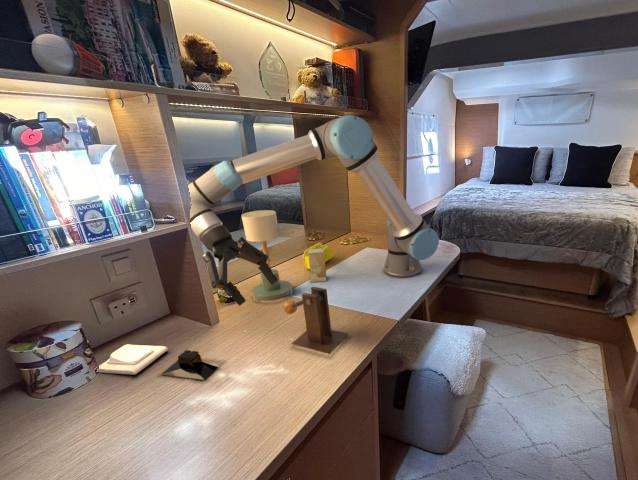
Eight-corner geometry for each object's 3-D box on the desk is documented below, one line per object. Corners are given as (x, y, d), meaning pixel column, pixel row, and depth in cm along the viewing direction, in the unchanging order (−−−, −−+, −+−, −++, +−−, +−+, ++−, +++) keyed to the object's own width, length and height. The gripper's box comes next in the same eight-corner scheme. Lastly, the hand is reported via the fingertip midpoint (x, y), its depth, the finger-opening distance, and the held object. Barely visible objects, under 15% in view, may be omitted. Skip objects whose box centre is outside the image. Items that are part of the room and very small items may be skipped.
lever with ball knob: (284, 317, 94) (277, 306, 93) (293, 311, 97) (286, 300, 96) (318, 305, 86) (311, 292, 86) (326, 299, 89) (319, 286, 89)
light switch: (126, 337, 95) (164, 338, 92) (132, 349, 96) (169, 351, 93) (88, 360, 85) (129, 363, 82) (95, 374, 86) (136, 377, 83)
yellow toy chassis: (322, 257, 160) (320, 240, 157) (333, 259, 158) (331, 241, 155) (304, 270, 146) (301, 251, 143) (315, 271, 144) (313, 252, 141)
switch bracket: (292, 348, 92) (283, 295, 86) (313, 329, 100) (306, 281, 94) (329, 357, 87) (323, 303, 81) (348, 338, 96) (344, 287, 89)
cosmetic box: (311, 282, 133) (307, 253, 128) (311, 278, 137) (307, 249, 132) (327, 280, 134) (324, 251, 129) (327, 276, 138) (323, 248, 133)
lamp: (271, 285, 133) (257, 208, 121) (300, 290, 127) (289, 210, 115) (245, 300, 121) (226, 217, 109) (275, 306, 116) (260, 219, 104)
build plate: (222, 363, 87) (219, 348, 86) (204, 382, 81) (199, 366, 79) (181, 358, 90) (177, 343, 88) (160, 376, 83) (154, 360, 82)
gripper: (237, 226, 107) (279, 280, 109) (166, 254, 86) (220, 319, 89) (249, 213, 103) (293, 269, 105) (177, 238, 82) (233, 307, 85)
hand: (259, 292), depth 97 cm, fingers open, 13 cm apart
